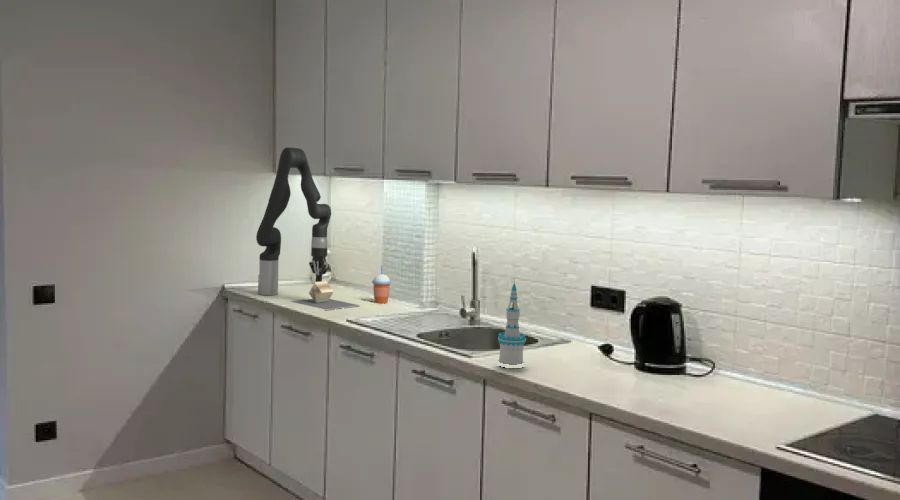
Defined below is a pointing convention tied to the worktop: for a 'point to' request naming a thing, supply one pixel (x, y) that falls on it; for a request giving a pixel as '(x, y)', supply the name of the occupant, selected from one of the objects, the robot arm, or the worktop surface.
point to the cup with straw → (381, 287)
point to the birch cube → (321, 292)
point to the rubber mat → (326, 304)
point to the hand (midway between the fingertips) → (318, 283)
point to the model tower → (512, 334)
